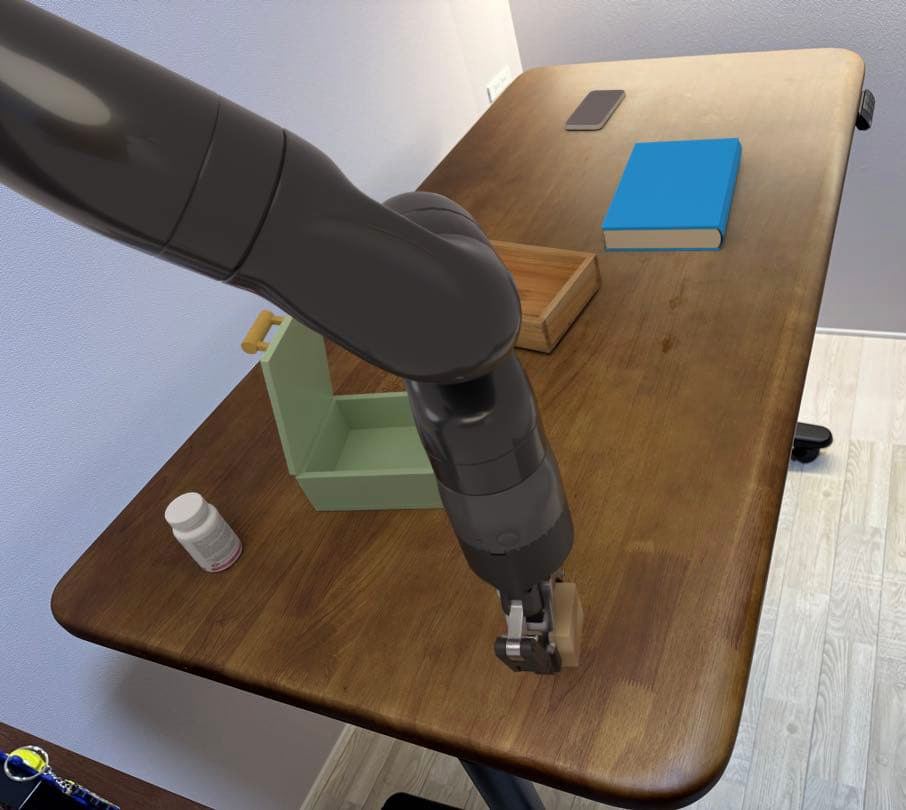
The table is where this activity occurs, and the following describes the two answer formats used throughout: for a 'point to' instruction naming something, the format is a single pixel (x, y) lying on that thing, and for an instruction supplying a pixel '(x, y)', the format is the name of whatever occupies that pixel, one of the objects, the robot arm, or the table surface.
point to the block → (567, 623)
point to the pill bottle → (203, 532)
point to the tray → (548, 289)
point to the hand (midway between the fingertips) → (552, 637)
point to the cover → (292, 380)
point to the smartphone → (595, 109)
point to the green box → (368, 457)
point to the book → (674, 196)
